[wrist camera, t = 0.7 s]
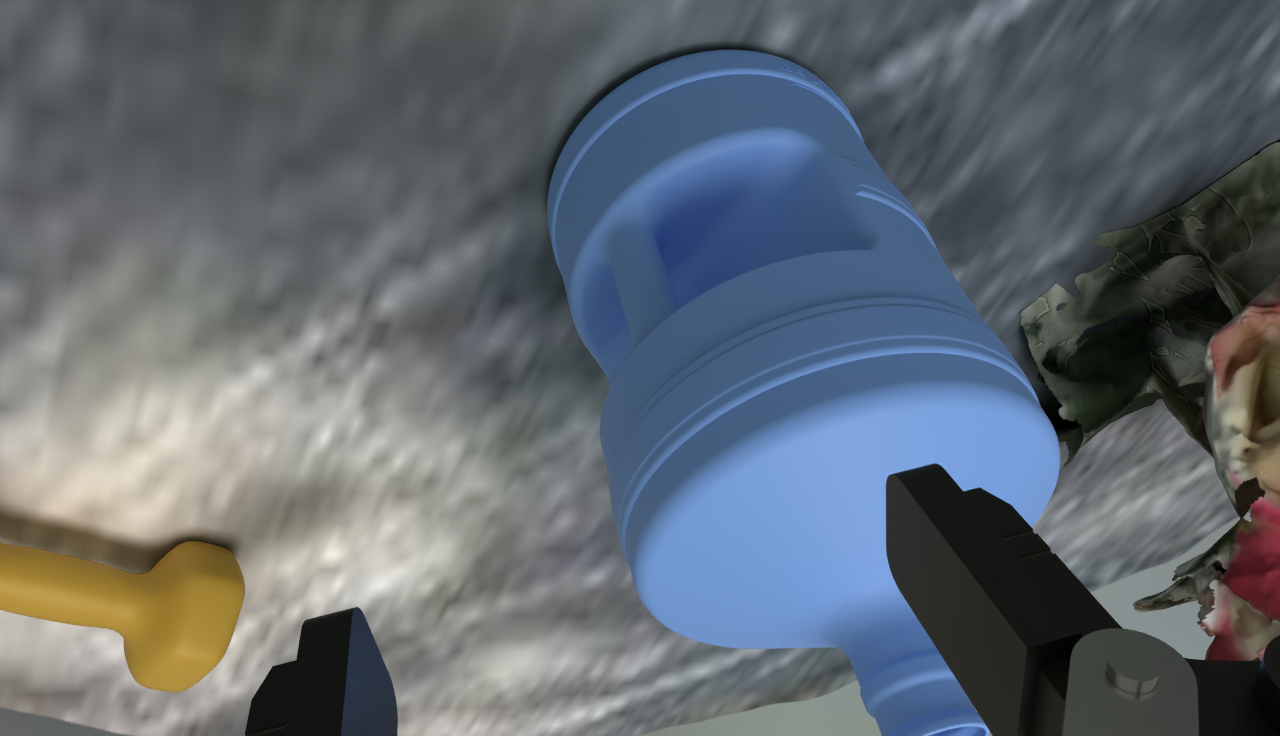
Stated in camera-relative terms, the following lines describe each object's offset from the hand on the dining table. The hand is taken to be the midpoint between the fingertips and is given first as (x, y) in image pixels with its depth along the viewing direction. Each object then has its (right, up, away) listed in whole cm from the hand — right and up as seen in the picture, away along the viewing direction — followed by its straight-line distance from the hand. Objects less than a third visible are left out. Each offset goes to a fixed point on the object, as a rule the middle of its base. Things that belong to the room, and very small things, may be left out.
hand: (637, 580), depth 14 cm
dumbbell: (-34, -6, +41) cm, 53 cm away
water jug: (+3, +12, +32) cm, 34 cm away
